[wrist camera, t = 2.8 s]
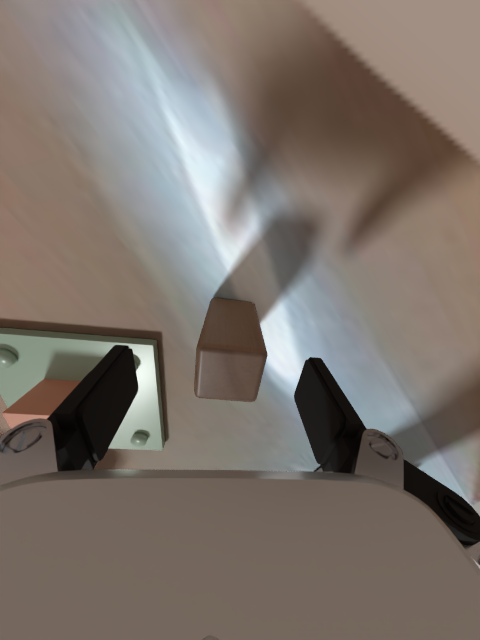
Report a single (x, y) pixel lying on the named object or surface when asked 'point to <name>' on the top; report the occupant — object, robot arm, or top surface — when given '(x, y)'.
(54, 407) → the brick
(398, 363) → the top surface
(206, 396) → the wooden block
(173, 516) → the robot arm
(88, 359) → the baseplate
